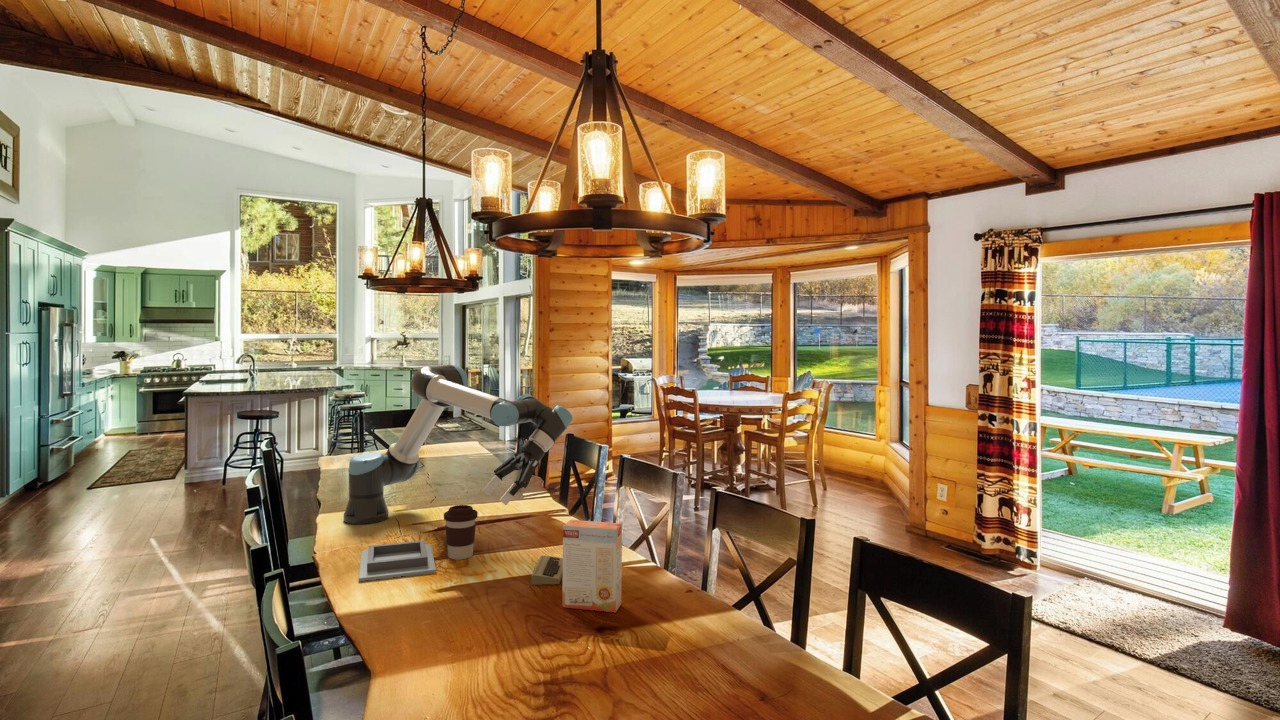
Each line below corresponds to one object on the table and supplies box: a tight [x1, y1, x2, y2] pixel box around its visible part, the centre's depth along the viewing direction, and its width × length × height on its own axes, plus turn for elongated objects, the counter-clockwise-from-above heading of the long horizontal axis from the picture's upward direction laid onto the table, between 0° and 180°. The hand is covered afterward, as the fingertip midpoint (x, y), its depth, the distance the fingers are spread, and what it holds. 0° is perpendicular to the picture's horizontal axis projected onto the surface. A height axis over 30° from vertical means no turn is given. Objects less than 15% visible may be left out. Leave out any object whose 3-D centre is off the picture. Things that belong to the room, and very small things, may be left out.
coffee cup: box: [443, 504, 479, 561], centre depth 193 cm, size 10×10×15 cm
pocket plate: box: [358, 539, 437, 582], centre depth 186 cm, size 24×20×4 cm
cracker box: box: [561, 519, 623, 614], centre depth 158 cm, size 14×6×21 cm, turn 77°
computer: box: [529, 555, 563, 585], centre depth 180 cm, size 16×8×3 cm, turn 0°
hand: (493, 498), depth 199 cm, fingers open, 13 cm apart
